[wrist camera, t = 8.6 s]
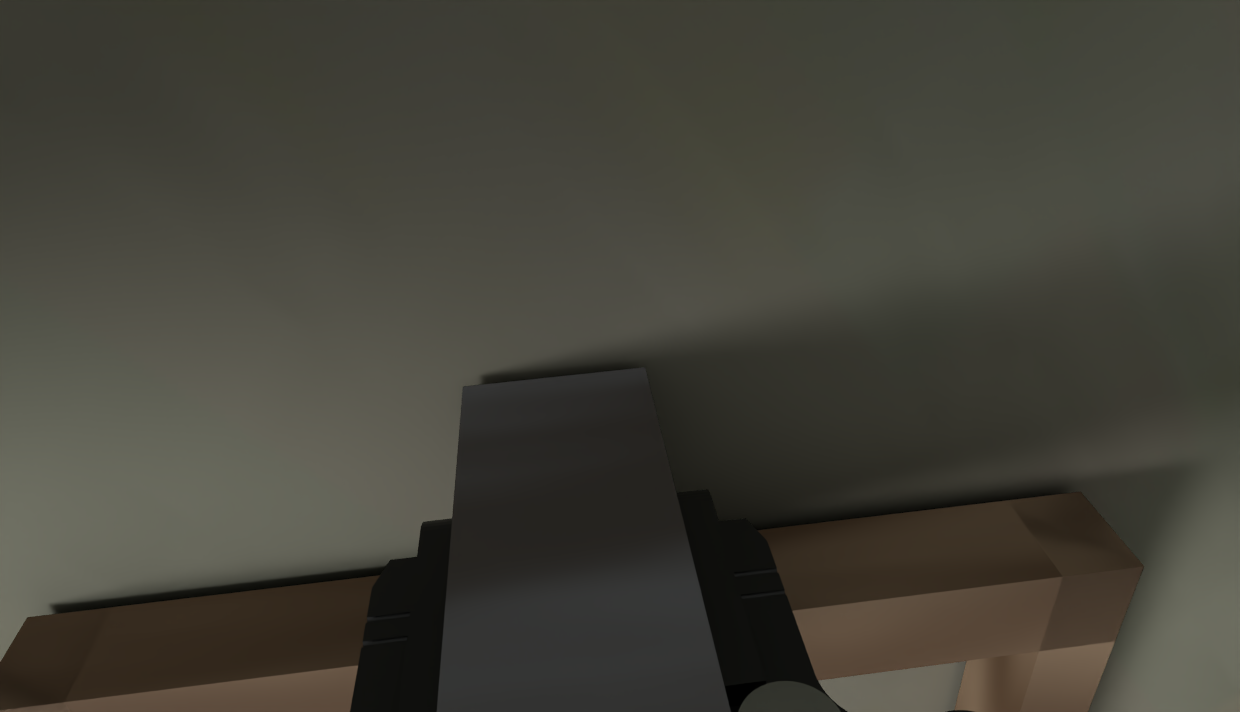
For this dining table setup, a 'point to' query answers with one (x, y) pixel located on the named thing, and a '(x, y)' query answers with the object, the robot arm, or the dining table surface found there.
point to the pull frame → (618, 592)
